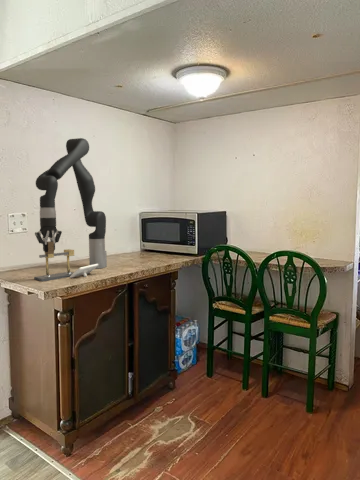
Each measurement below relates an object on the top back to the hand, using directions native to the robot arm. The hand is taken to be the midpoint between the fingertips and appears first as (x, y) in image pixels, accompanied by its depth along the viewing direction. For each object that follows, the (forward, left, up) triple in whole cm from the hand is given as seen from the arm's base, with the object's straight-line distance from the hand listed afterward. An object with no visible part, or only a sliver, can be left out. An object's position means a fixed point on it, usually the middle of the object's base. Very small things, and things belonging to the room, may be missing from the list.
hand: (49, 251), depth 185 cm
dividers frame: (-4, -1, -13) cm, 13 cm away
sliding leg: (0, -1, -12) cm, 12 cm away
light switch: (-17, +5, -15) cm, 23 cm away
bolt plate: (-5, -2, -14) cm, 15 cm away
